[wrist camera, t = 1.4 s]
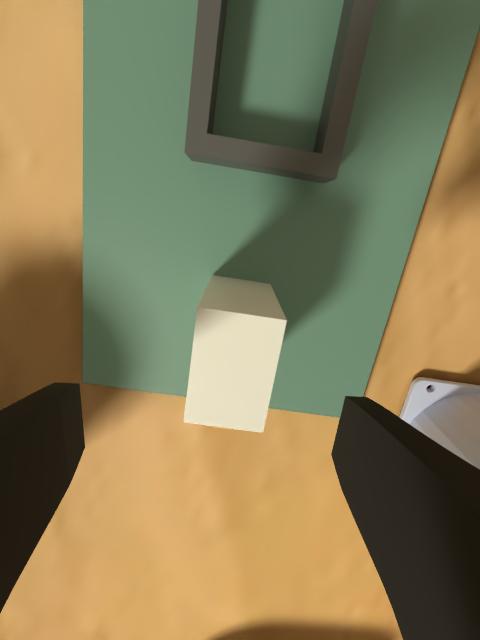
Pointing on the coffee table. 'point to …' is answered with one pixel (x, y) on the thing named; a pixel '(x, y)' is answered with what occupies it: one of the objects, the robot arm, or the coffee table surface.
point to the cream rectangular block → (234, 354)
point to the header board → (258, 175)
